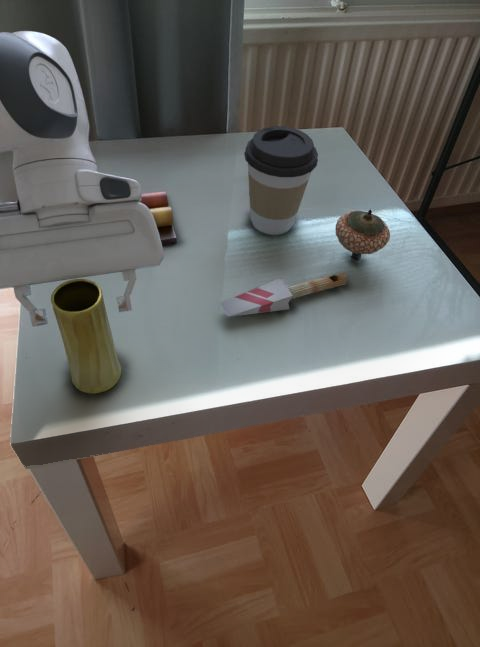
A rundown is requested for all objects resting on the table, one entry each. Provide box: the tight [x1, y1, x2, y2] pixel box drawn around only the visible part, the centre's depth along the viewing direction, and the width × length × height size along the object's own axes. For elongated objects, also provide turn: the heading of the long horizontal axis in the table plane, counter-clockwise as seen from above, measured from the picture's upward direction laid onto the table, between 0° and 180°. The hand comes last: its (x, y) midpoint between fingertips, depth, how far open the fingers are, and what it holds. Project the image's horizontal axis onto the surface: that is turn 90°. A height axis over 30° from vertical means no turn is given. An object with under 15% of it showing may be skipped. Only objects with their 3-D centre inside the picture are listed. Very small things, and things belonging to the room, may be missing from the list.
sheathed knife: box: [219, 272, 348, 318], centre depth 73 cm, size 4×3×20 cm
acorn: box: [335, 208, 391, 262], centre depth 78 cm, size 8×8×10 cm
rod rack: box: [140, 190, 178, 245], centre depth 82 cm, size 14×12×4 cm
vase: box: [50, 278, 122, 394], centre depth 58 cm, size 6×6×14 cm
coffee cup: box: [243, 125, 319, 236], centre depth 81 cm, size 11×11×15 cm
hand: (83, 318), depth 57 cm, fingers open, 8 cm apart
